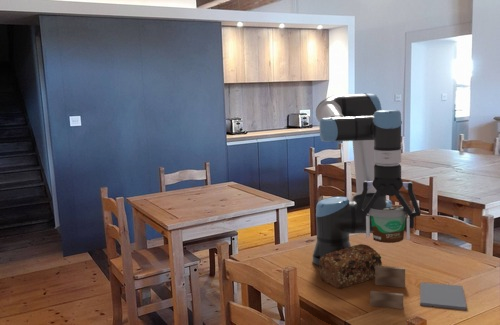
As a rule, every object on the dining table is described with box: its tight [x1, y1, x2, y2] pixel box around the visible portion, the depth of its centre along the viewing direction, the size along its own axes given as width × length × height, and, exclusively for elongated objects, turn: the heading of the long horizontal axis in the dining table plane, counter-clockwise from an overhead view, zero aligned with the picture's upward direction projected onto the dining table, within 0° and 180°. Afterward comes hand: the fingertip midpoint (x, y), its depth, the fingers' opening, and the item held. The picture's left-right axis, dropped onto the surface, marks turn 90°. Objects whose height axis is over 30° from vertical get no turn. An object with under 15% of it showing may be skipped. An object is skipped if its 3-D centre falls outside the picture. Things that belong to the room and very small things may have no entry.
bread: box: [318, 243, 383, 289], centre depth 152 cm, size 19×11×10 cm, turn 117°
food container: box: [369, 205, 408, 244], centre depth 136 cm, size 12×6×10 cm, turn 108°
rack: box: [369, 265, 406, 310], centre depth 138 cm, size 9×16×6 cm, turn 160°
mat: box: [419, 281, 468, 311], centre depth 136 cm, size 12×15×1 cm
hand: (387, 237), depth 137 cm, fingers closed on food container, 11 cm apart
